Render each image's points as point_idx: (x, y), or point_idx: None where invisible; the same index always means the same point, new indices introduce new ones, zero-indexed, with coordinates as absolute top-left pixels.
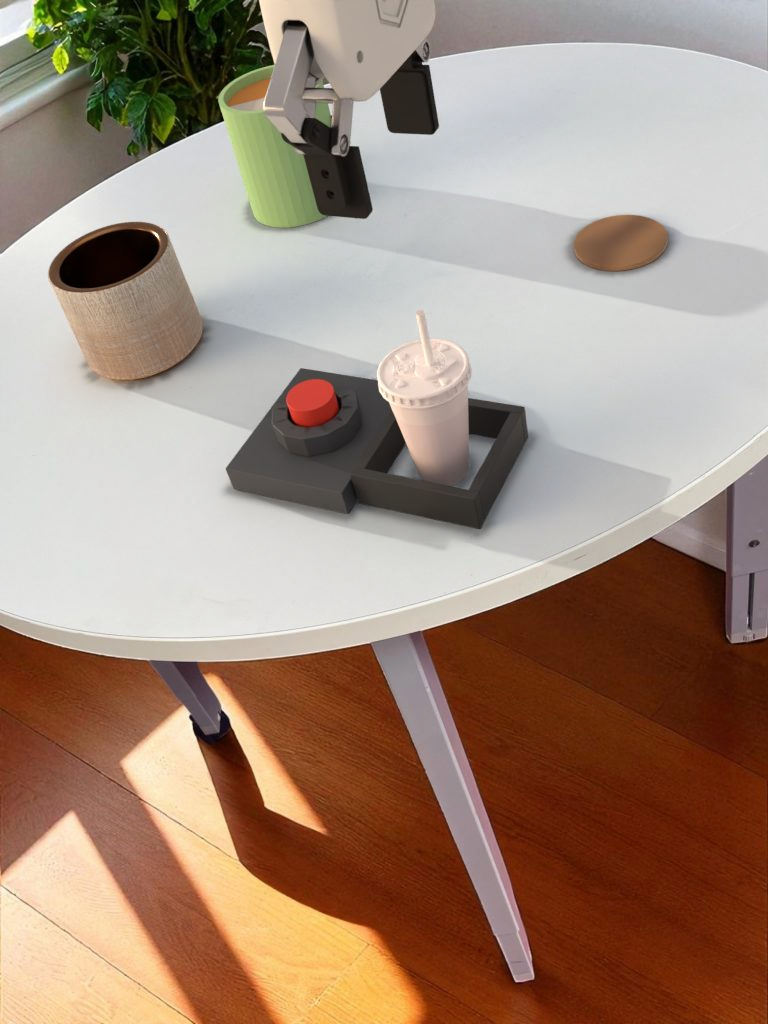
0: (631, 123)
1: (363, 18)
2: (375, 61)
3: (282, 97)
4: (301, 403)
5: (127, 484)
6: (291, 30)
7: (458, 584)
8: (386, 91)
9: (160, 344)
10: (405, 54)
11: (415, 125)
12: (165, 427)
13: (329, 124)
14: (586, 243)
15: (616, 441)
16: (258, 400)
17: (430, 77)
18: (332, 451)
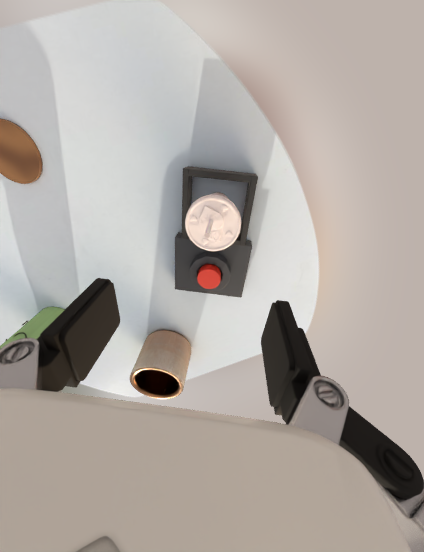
0: None
1: None
2: (297, 525)
3: None
4: (215, 281)
5: (242, 325)
6: None
7: (292, 174)
8: (95, 355)
9: (177, 343)
10: (135, 423)
11: (111, 302)
12: (210, 324)
13: (19, 334)
14: (24, 175)
15: (180, 108)
16: (189, 298)
17: (56, 320)
18: (226, 258)
